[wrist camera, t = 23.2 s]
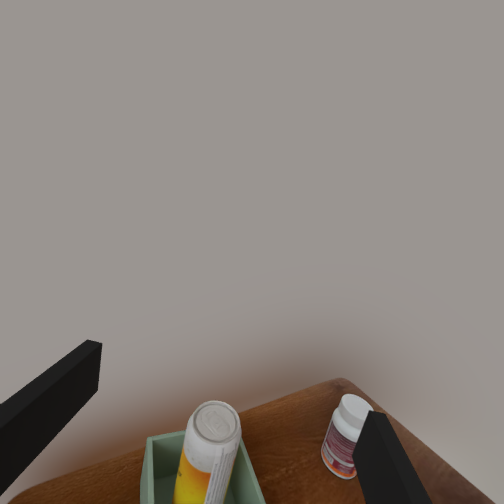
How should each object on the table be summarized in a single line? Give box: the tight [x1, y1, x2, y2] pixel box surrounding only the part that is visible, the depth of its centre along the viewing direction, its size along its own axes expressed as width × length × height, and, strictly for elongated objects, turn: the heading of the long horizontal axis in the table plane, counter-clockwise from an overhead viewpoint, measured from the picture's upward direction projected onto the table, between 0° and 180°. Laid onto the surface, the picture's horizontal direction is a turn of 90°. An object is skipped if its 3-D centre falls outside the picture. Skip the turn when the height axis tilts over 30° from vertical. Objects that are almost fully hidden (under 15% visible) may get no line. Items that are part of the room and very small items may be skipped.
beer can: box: [172, 401, 241, 504], centre depth 29 cm, size 6×6×15 cm
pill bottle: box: [321, 394, 373, 479], centre depth 42 cm, size 6×6×11 cm
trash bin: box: [140, 430, 266, 504], centre depth 30 cm, size 12×12×8 cm
